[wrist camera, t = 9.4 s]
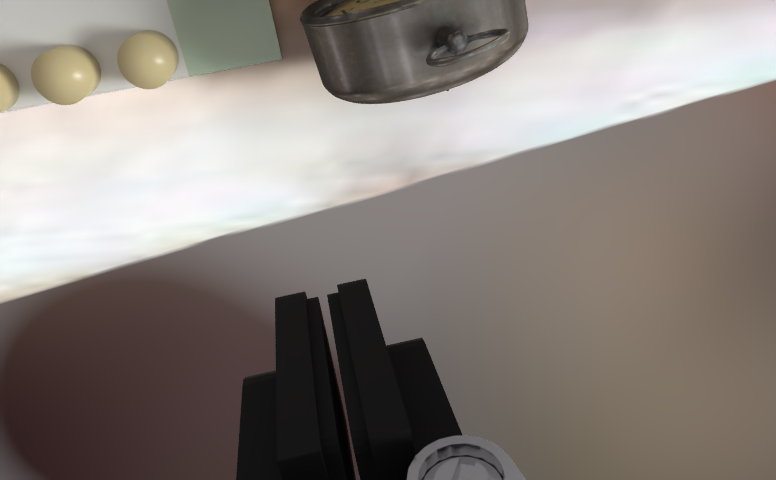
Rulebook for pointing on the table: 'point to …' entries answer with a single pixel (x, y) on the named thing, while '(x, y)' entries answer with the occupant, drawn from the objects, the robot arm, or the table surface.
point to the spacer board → (76, 27)
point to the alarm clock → (409, 44)
